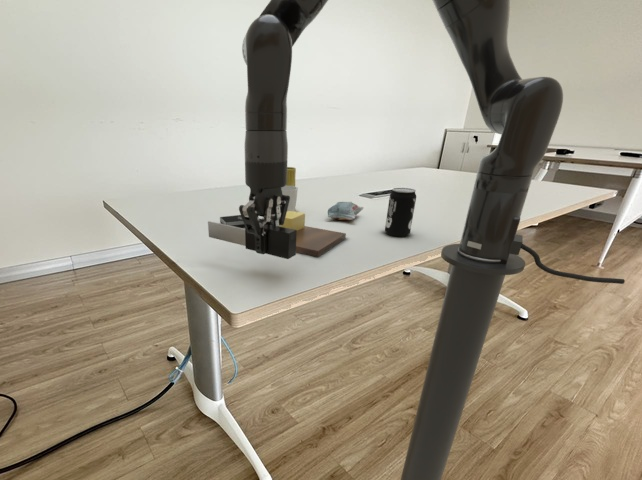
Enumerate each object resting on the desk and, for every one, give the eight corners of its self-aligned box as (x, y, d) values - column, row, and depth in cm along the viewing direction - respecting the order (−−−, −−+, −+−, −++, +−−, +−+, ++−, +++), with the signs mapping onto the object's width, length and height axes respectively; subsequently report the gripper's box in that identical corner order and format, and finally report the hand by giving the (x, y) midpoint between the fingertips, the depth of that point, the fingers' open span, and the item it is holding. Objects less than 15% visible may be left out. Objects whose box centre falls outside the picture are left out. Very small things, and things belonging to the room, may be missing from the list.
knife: (295, 255, 66) (296, 229, 64) (288, 259, 64) (289, 233, 61) (213, 235, 76) (212, 213, 74) (204, 238, 74) (203, 215, 72)
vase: (276, 209, 119) (277, 166, 113) (294, 209, 119) (295, 166, 113) (278, 214, 113) (279, 169, 107) (296, 213, 114) (298, 169, 108)
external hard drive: (219, 223, 103) (219, 216, 102) (254, 219, 107) (254, 213, 106) (226, 229, 97) (225, 222, 96) (262, 225, 101) (262, 219, 100)
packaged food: (362, 215, 112) (363, 200, 110) (353, 224, 102) (355, 208, 100) (336, 213, 115) (337, 198, 113) (325, 221, 105) (326, 205, 103)
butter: (304, 227, 94) (305, 213, 92) (291, 233, 89) (291, 218, 87) (289, 224, 97) (289, 210, 95) (275, 230, 91) (275, 216, 90)
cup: (266, 218, 108) (266, 186, 104) (290, 216, 111) (291, 184, 107) (275, 225, 101) (275, 190, 97) (300, 222, 104) (302, 189, 100)
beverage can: (405, 239, 90) (412, 192, 85) (380, 234, 94) (387, 189, 89) (412, 233, 95) (420, 189, 90) (389, 229, 98) (395, 186, 93)
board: (345, 238, 90) (346, 233, 89) (317, 257, 78) (318, 250, 77) (287, 227, 99) (287, 222, 98) (254, 242, 87) (254, 237, 86)
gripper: (260, 163, 53) (261, 266, 60) (304, 156, 64) (300, 244, 71) (223, 160, 57) (228, 257, 64) (270, 154, 68) (270, 238, 75)
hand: (266, 250), depth 68 cm, fingers closed on knife, 3 cm apart
